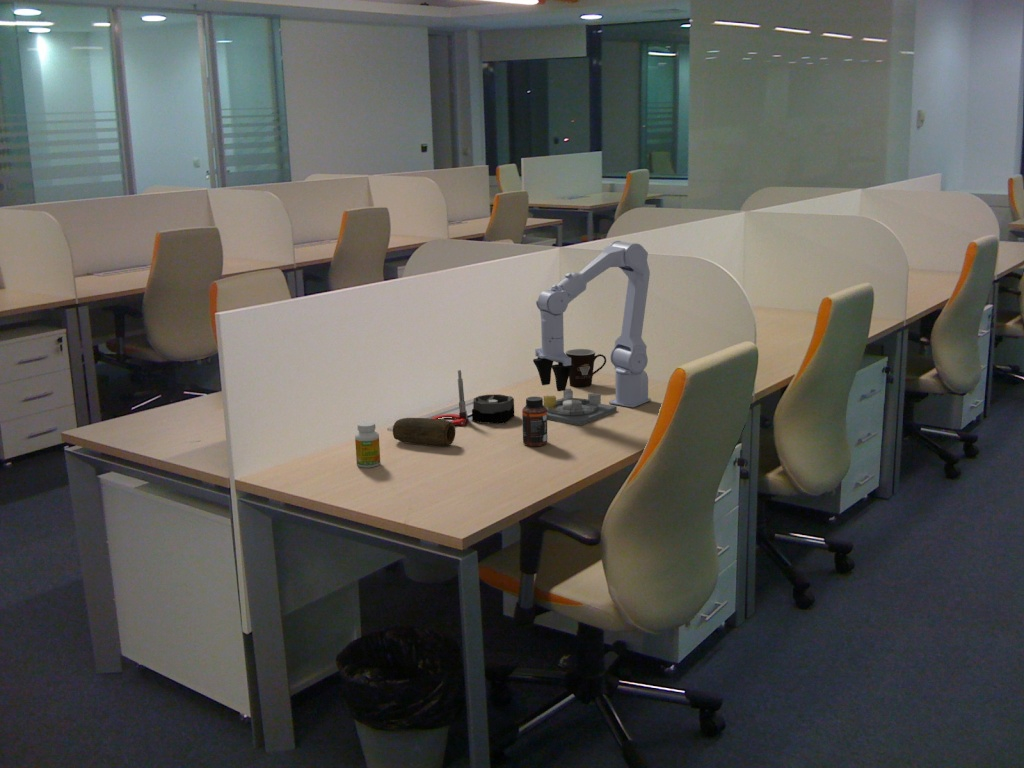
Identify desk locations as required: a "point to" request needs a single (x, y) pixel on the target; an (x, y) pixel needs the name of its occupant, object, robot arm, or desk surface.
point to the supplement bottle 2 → (534, 422)
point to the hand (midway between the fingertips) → (553, 387)
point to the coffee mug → (582, 367)
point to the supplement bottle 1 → (367, 445)
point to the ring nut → (576, 404)
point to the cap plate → (580, 419)
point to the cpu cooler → (493, 409)
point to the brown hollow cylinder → (424, 431)
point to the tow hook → (463, 413)
